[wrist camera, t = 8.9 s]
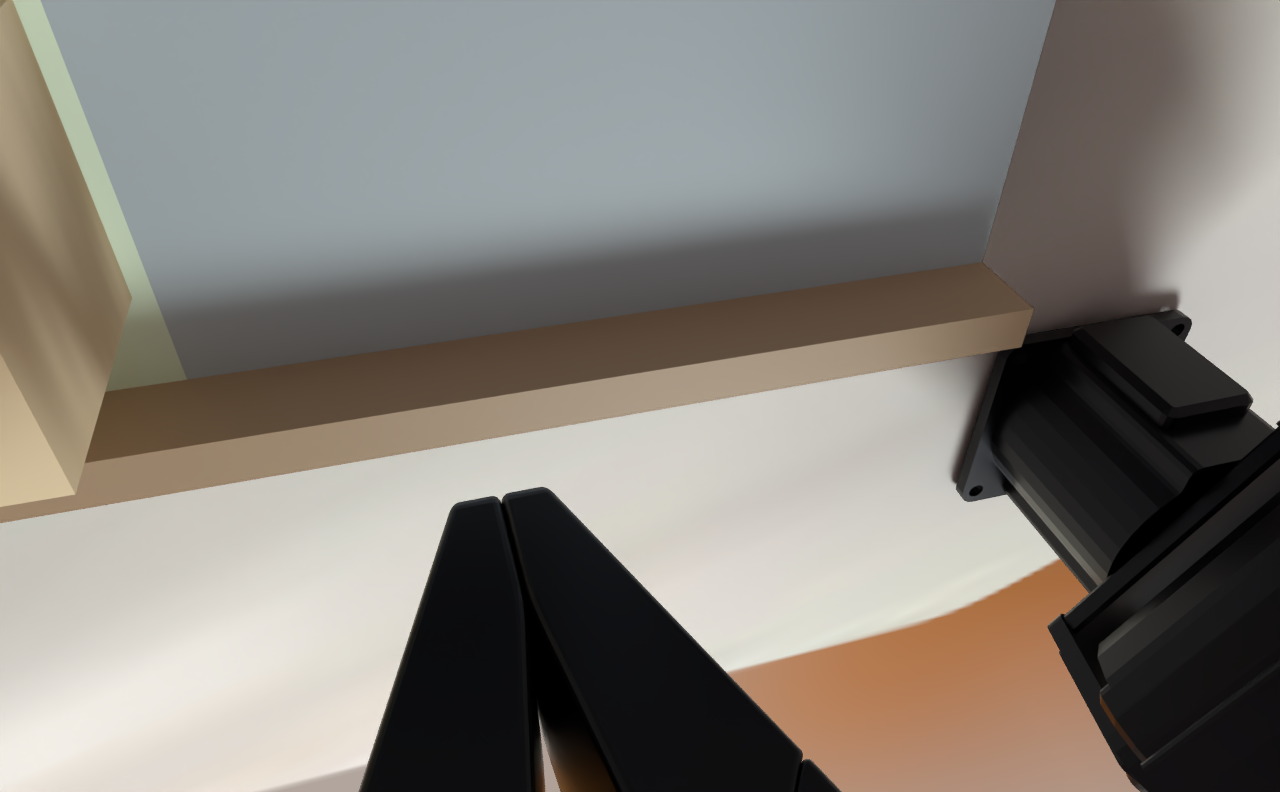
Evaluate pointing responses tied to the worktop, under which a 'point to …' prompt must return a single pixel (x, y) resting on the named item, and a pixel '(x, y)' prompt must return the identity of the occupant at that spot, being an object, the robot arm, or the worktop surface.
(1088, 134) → the worktop surface
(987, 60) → the board
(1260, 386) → the worktop surface
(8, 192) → the oak block
